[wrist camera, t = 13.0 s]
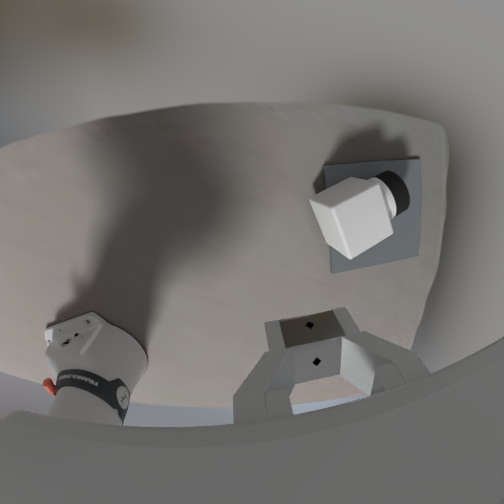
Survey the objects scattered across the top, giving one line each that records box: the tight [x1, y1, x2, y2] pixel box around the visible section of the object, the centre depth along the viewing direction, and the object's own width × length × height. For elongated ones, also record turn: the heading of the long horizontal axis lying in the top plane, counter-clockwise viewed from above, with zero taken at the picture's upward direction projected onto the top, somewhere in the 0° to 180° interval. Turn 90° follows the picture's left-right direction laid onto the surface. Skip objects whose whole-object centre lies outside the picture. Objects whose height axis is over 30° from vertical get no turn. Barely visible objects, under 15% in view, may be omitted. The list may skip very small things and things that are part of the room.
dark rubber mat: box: [323, 159, 421, 273], centre depth 39 cm, size 16×16×1 cm
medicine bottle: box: [309, 170, 410, 259], centre depth 35 cm, size 7×7×12 cm
